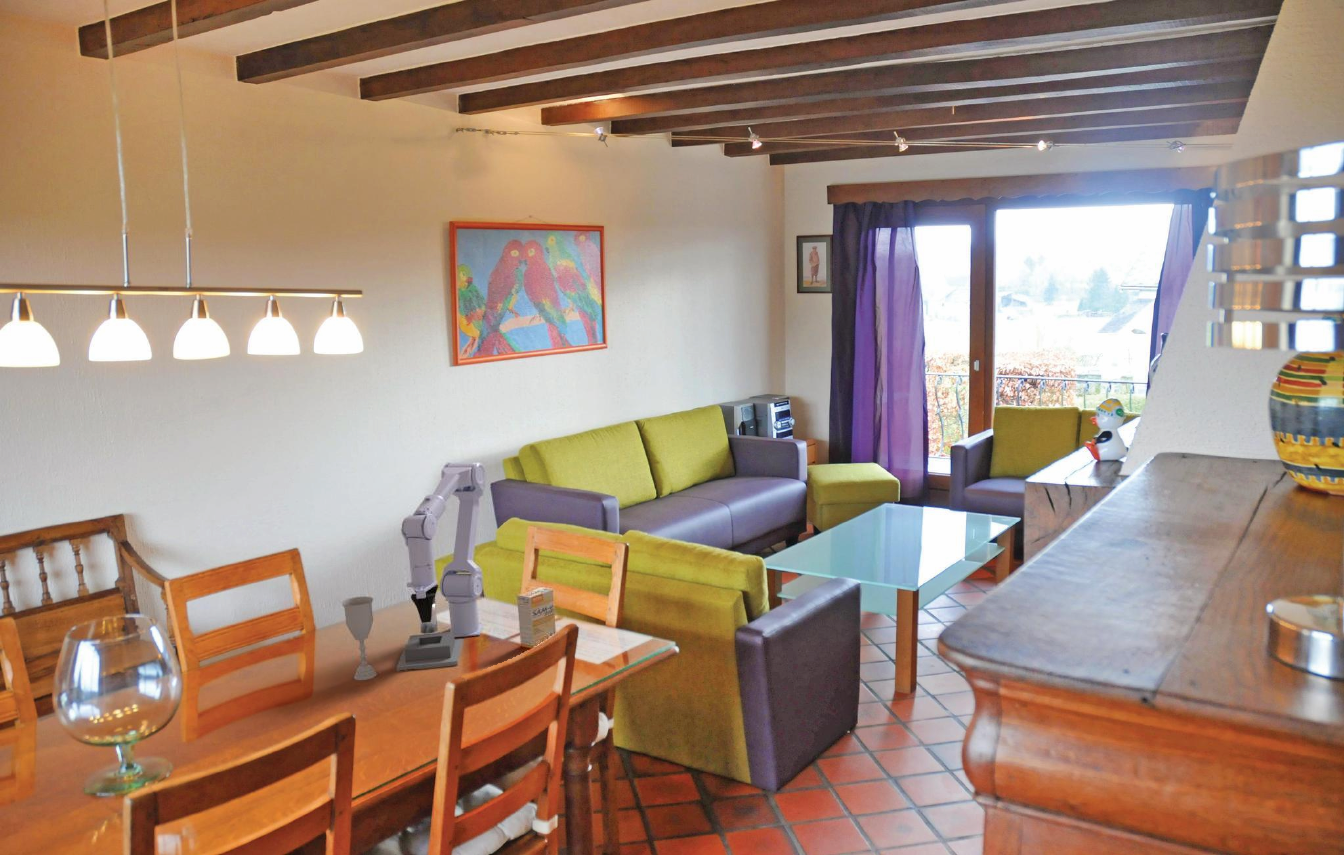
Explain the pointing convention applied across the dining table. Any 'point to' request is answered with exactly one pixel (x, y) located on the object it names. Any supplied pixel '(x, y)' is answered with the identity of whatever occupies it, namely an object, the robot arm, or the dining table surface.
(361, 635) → the chalice
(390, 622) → the dining table surface
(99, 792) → the dining table surface
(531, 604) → the supplement box
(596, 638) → the dining table surface
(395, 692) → the dining table surface
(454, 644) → the socket mount
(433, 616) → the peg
